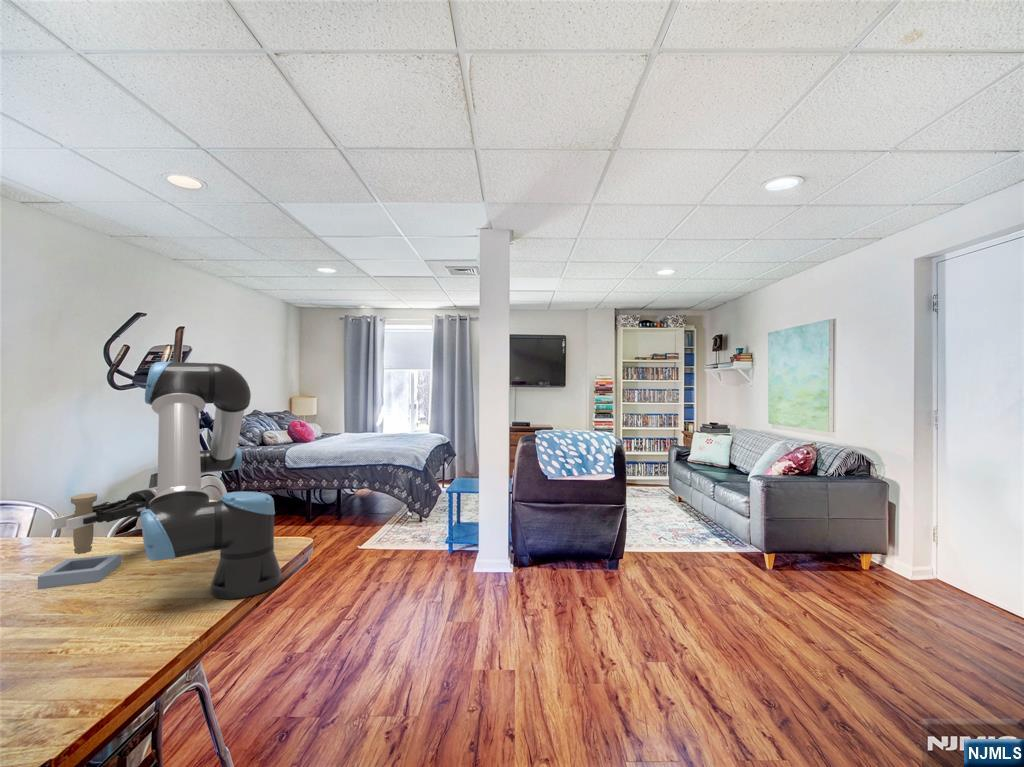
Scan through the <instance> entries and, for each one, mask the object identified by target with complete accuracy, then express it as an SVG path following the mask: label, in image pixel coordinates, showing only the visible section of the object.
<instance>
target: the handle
mask: <svg viewBox="0 0 1024 767" xmlns="http://www.w3.org/2000/svg"><path fill="white" fill-rule="evenodd" d="M97 500H98V493H95V492H87V493H81V494H76V495H73V496H71V497H70V503H71V504H72V505H73V506H74V505H75V507H74V513H75V517H79V516H83V515H87V514H91V513H93V508H92V506H94V505H93V504H94V503H95V502H97ZM94 529H95V528H94V524H90V525H87V526H83V527H80V528H76V529H73V531H72V532H73V533H72V534H73V536H72V539H73V540H72V541H73V548H74V549H73V552H74V554H77V555H81V554H82V555H83V554H86V553H89V552H91V551H92V548H93V546H92V545H93V541H94V531H95V530H94Z"/></svg>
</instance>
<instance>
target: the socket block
mask: <svg viewBox="0 0 1024 767" xmlns="http://www.w3.org/2000/svg"><path fill="white" fill-rule="evenodd" d="M120 564H121V565H122V553H117V554H107V555H98V556H87V557H79V558H78V557H77V558H68V559H66V558H65V560H63V561H62V562H60V563H58V564H56V565H55V566H53V567H52V568H50V569H48V570H47V571H45V572H43V573H42V574H40V575H38V576H37V590H42V589H47V588H49V589H50V588H56V587H57V588H59V587H65V586H66V585H67V586H74V585H83V584H91V583H97V582H98V583H99V582H101V581H102V580H103V579H104V578H106V577H107V576H109V575H110V574H111V573H112V572H114V571H115V570H116V569H117V568H119V567H120V566H121V565H120ZM119 565H120V566H119ZM118 566H119V567H118Z"/></svg>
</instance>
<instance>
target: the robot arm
mask: <svg viewBox="0 0 1024 767" xmlns="http://www.w3.org/2000/svg"><path fill="white" fill-rule="evenodd" d="M250 389H251V388H250V386H249V384H248V382H247V380H246V379H245V378H244V377H243V375H242V374H241V373H240V372H239V371H238V370H236V369H235V368H232V367H231V366H228V365H227V364H226V365H225V364H223V363H217V362H216V363H215V362H213V363H208V362H178V361H176V362H175V361H172V360H170V361H155V362H154V363H152V365H150V367H149V370H148V375H147V378H146V385H145V391H144V402H145V403H146V404H147V405H150V406H151V410H153V412H154V413H155V414H157V415H158V436H157V437H158V439H157V440H158V441H157V442H158V444H157V446H158V447H157V448H158V450H157V452H158V453H157V486H154V487H149V488H146V489H142V490H138V491H133V492H131V493H130V494H129V495H127V497H126V499H120V500H117V501H114V502H109V501H105V502H102V503H101V504H96V505H93V506H92V508H93V513H91V514H87V515H83V516H79V517H75V512H74V513H71V514H66V515H62V516H58V517H55V518H51V531H52V530H54V531H55V530H58V529H59V530H60V529H63V528H65V531H69V532H70V531H72V530H73V529H76V528H80V527H83V526H87V525H90V524H93V525H94V524H96V523H99V524H100V523H103V522H106V523H110V522H113V521H117V520H122V519H125V518H128V517H135V518H139V517H140V524H141V528H142V529H141V531H142V541H143V548H144V552H145V556H146V558H147V559H148V560H149V561H151V562H159V561H164V560H165V561H166V560H172V561H173V560H175V559H177V558H183V557H187V556H188V557H189V556H192V555H199V554H204V553H209V552H214V551H218V550H219V562H218V564H217V566H216V570H215V572H214V574H213V578H212V580H211V583H210V594H211V595H212V597H214V598H216V599H221V600H222V599H224V600H233V599H234V600H235V599H236V600H237V599H243V598H248V597H252V596H253V597H254V596H256V595H260V594H262V593H265V592H267V591H269V590H271V589H273V588H275V587H276V586H277V585H278V584H280V582H281V580H282V570H281V567H280V565H279V561H278V559H277V556H276V554H275V553H276V552H275V549H274V548H275V546H274V544H275V543H274V542H275V540H274V539H275V514H276V511H275V510H276V509H275V500H274V498H273V497H272V495H270V494H268V493H265V492H259V491H231V492H224V493H223V494H222V495H221V496H220V498H219V500H215V501H210V495H209V494H208V492H206V491H204V490H202V474H205V473H216V472H229V471H233V470H234V471H235V470H239V469H241V467H242V464H243V463H242V461H243V453H242V449H241V448H238V446H239V439H240V434H241V429H242V423H243V419H244V414H245V413H244V412H245V410H246V409H247V408H249V406H250V403H251V397H252V396H251V395H252V392H251V390H250ZM206 404H213V406H214V407H215V413H214V419H213V420H214V421H213V427H212V435H211V444H210V449H205V450H204V449H203V450H201V441H200V440H201V439H200V413H201V412H202V411H203V410H205V407H206Z"/></svg>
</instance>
